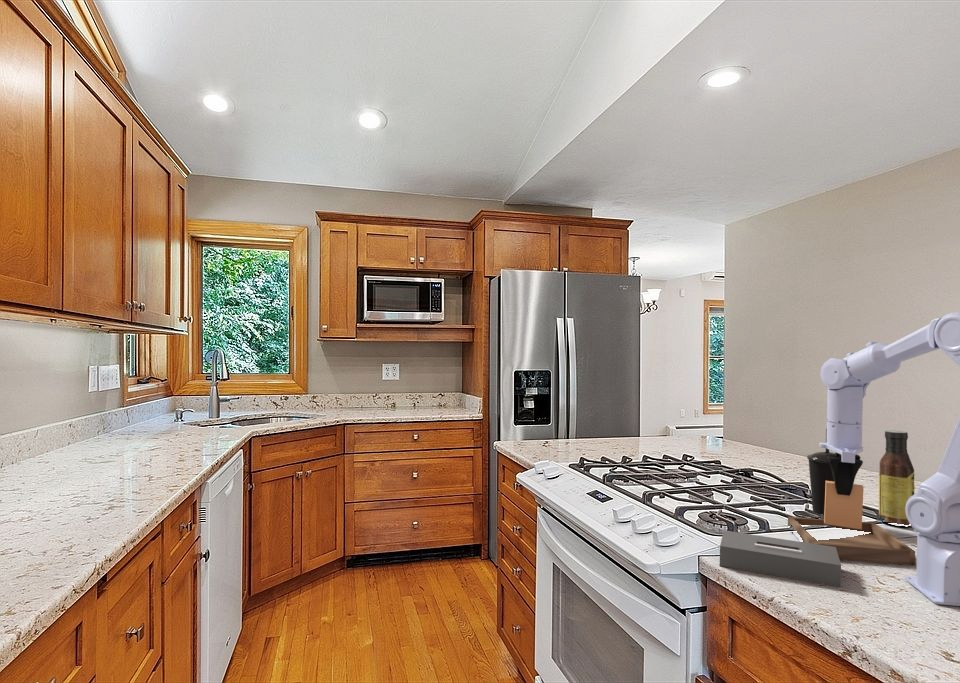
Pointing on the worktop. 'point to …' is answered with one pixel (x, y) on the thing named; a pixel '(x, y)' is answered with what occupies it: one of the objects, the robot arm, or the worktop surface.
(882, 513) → the sauce bottle
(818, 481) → the drinking cup
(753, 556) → the dispenser
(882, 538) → the tray
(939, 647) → the worktop surface
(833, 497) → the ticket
